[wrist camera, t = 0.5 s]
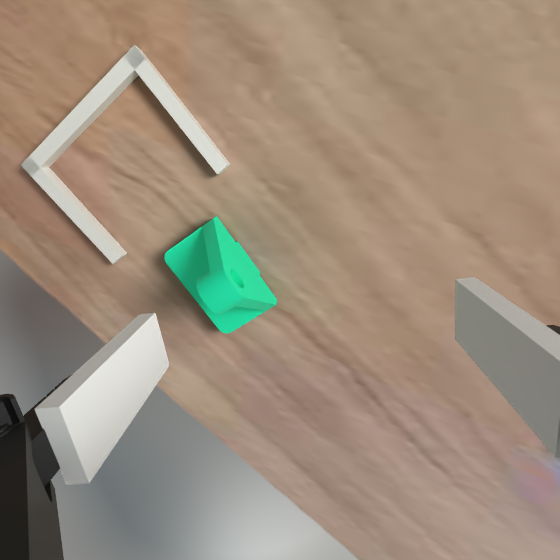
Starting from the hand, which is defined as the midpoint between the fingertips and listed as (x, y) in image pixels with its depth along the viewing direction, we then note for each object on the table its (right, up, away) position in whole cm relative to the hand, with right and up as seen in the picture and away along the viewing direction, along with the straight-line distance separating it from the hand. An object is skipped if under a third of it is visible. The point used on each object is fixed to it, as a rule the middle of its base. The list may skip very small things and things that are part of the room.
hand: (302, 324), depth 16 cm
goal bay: (-18, +15, +24) cm, 33 cm away
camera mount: (-8, +3, +28) cm, 29 cm away
